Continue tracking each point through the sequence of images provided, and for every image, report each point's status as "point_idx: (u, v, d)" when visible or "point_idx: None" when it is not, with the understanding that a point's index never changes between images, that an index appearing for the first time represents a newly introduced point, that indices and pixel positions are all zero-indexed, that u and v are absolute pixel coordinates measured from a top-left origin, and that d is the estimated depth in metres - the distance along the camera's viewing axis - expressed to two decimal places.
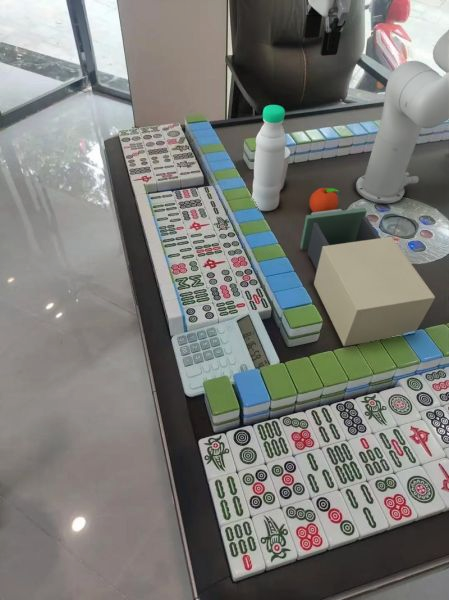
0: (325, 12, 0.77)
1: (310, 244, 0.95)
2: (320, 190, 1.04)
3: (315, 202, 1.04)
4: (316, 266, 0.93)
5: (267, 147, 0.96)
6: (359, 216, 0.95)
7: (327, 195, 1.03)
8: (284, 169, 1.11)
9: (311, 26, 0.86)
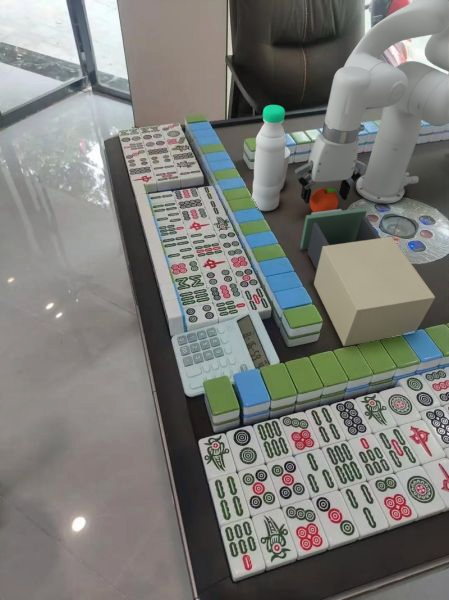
0: (351, 176, 1.00)
1: (310, 244, 0.95)
2: (320, 190, 1.04)
3: (316, 202, 1.04)
4: (316, 266, 0.93)
5: (267, 147, 0.96)
6: (359, 216, 0.95)
7: (327, 195, 1.03)
8: (284, 169, 1.11)
9: None
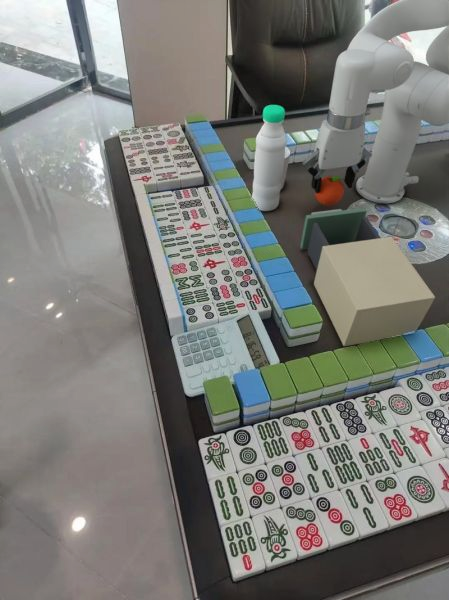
0: (359, 161, 0.98)
1: (310, 244, 0.95)
2: (325, 178, 1.03)
3: (321, 190, 1.03)
4: (316, 266, 0.93)
5: (267, 147, 0.96)
6: (359, 216, 0.95)
7: (332, 183, 1.02)
8: (284, 169, 1.11)
9: None
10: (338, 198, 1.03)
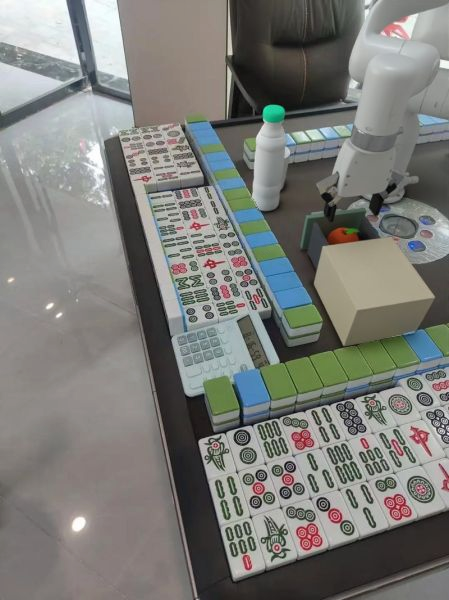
0: (385, 188, 0.81)
1: (310, 244, 0.95)
2: (339, 231, 0.91)
3: None
4: (316, 266, 0.93)
5: (267, 147, 0.96)
6: (359, 216, 0.95)
7: (347, 237, 0.90)
8: (284, 169, 1.11)
9: None
10: None
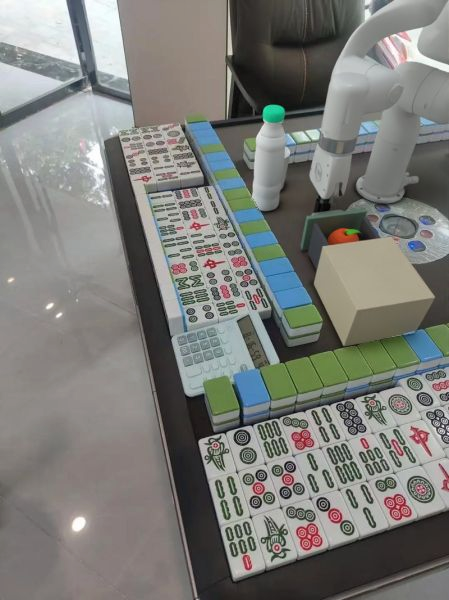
0: None
1: (310, 245, 0.95)
2: (339, 232, 0.91)
3: None
4: (316, 267, 0.93)
5: (267, 147, 0.96)
6: (359, 216, 0.94)
7: (348, 238, 0.90)
8: (284, 169, 1.11)
9: None
10: None
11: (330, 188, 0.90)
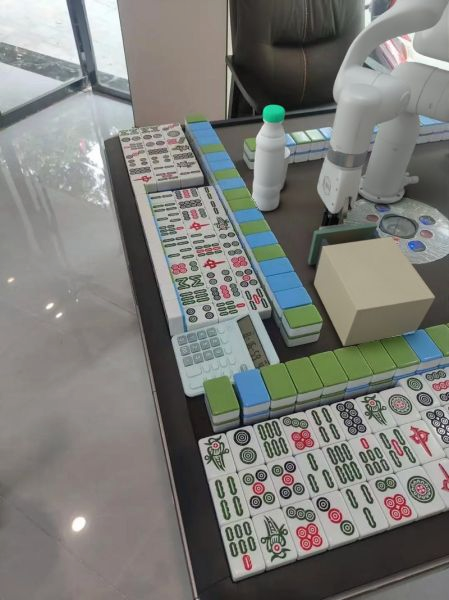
0: None
1: (318, 260, 0.92)
2: None
3: None
4: None
5: (267, 147, 0.96)
6: (369, 231, 0.91)
7: None
8: (284, 169, 1.11)
9: None
10: None
11: (339, 202, 0.87)
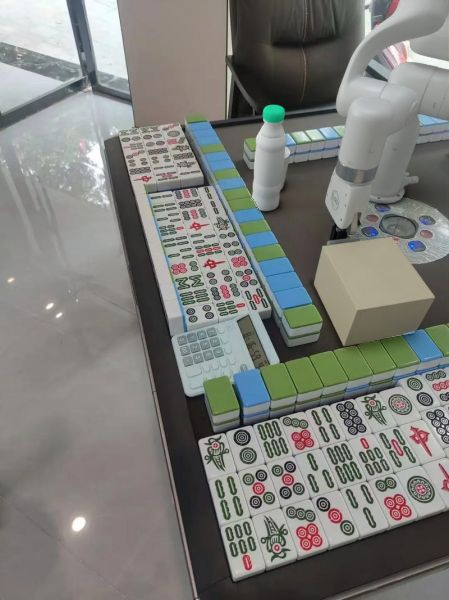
0: None
1: None
2: None
3: None
4: None
5: (267, 147, 0.96)
6: None
7: None
8: (284, 169, 1.11)
9: None
10: None
11: (348, 218, 0.84)
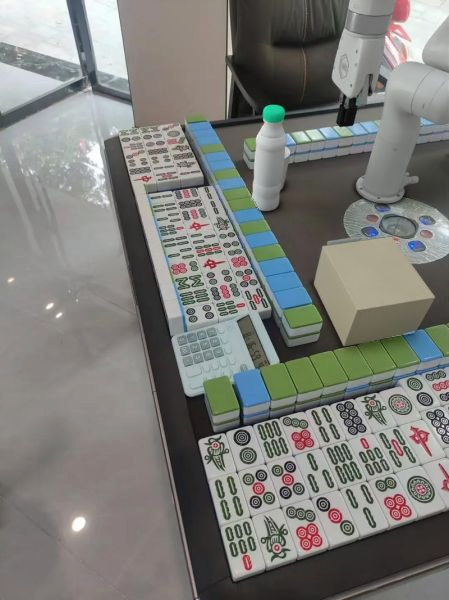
0: None
1: None
2: None
3: None
4: None
5: (267, 147, 0.96)
6: None
7: None
8: (284, 169, 1.11)
9: None
10: None
11: (359, 82, 0.77)
